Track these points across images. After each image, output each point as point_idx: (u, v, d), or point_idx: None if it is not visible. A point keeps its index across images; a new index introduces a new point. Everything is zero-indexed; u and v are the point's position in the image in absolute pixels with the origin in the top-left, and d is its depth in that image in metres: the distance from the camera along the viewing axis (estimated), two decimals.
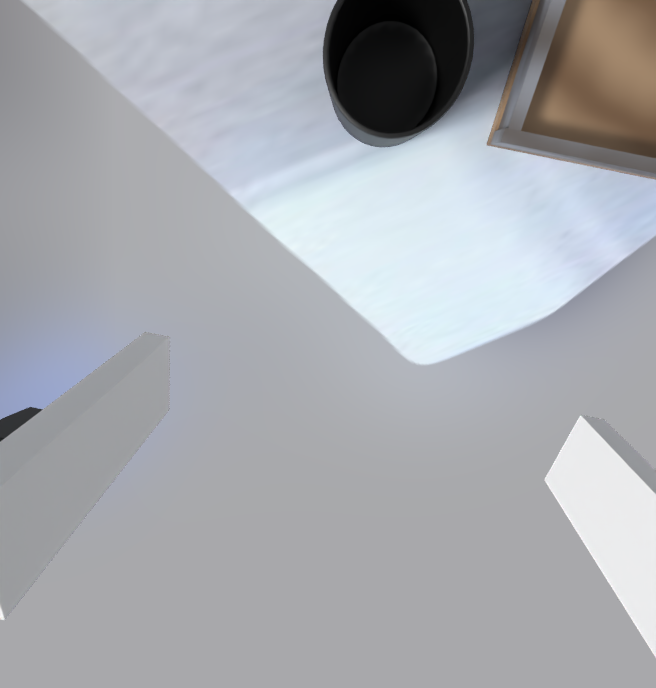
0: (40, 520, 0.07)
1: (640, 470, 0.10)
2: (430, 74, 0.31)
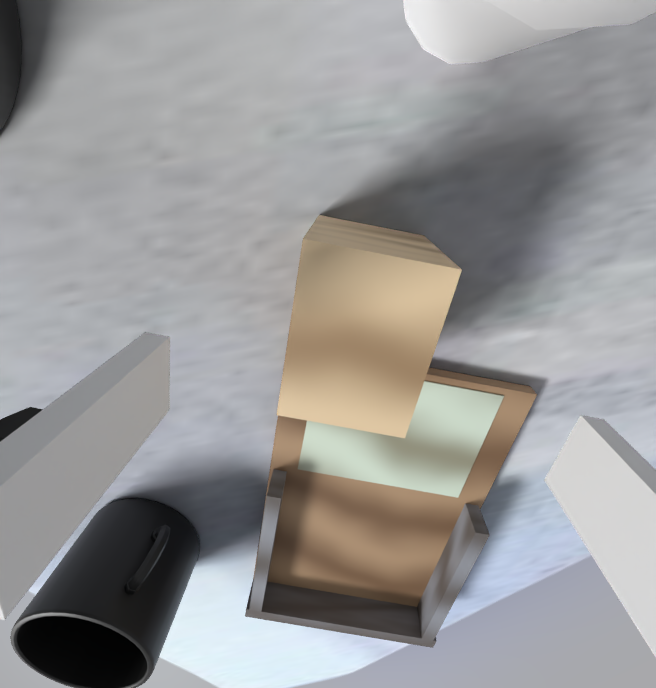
0: (40, 520, 0.07)
1: (640, 470, 0.10)
2: None
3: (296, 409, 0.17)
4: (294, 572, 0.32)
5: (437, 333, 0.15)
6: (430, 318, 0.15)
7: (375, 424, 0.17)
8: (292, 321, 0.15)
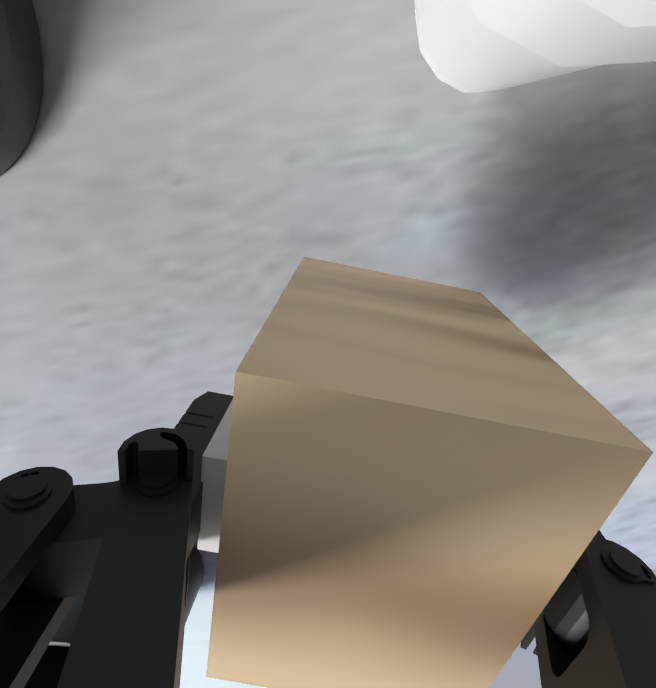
0: None
1: None
2: None
3: (245, 671, 0.08)
4: None
5: (562, 571, 0.06)
6: (550, 544, 0.06)
7: None
8: (224, 536, 0.07)
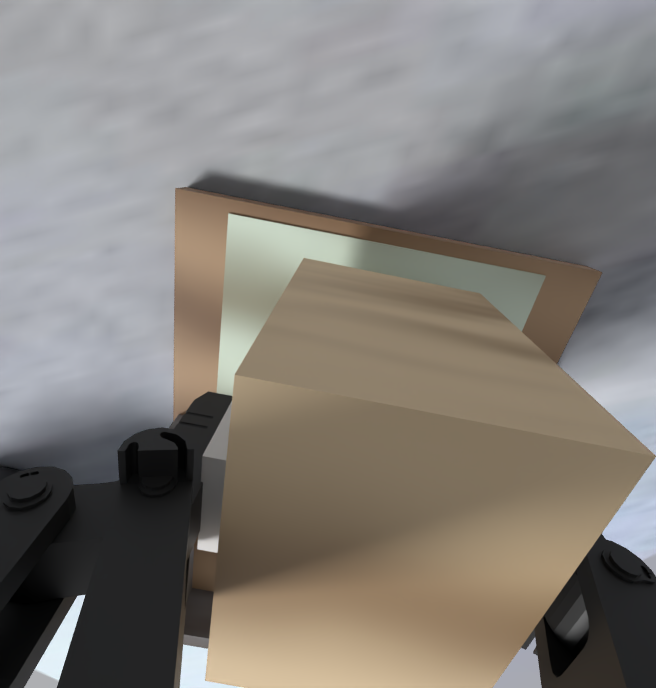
0: None
1: None
2: None
3: (245, 675, 0.08)
4: None
5: (564, 575, 0.06)
6: (552, 548, 0.06)
7: None
8: (222, 540, 0.07)
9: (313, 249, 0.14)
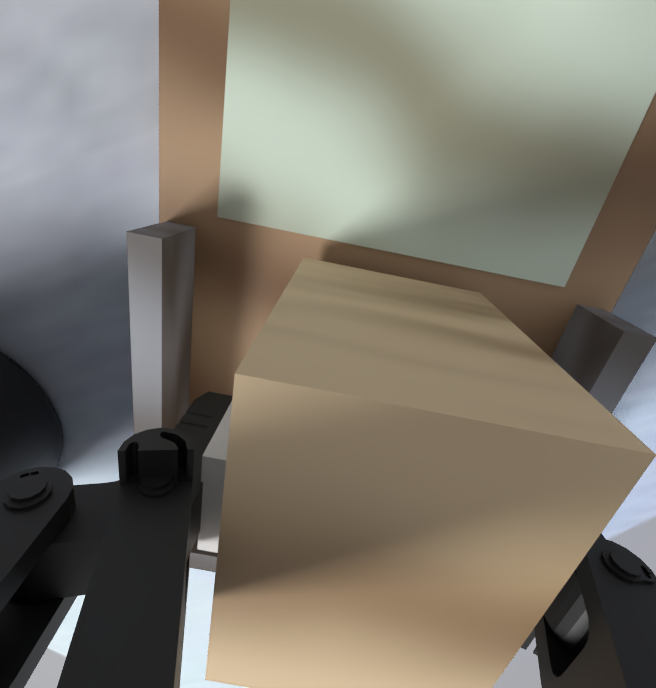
0: None
1: None
2: None
3: (245, 675, 0.08)
4: None
5: (564, 574, 0.06)
6: (552, 547, 0.06)
7: None
8: (223, 539, 0.07)
9: None
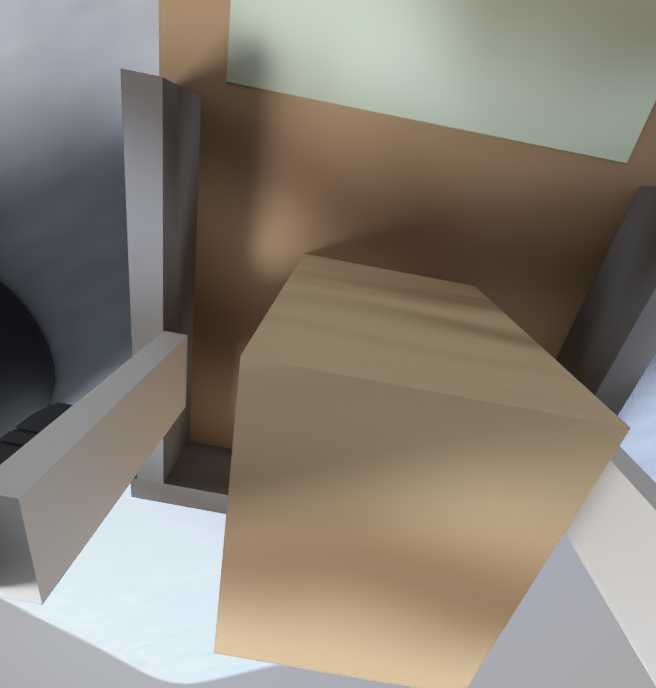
0: (74, 510, 0.07)
1: (615, 458, 0.10)
2: None
3: (251, 648, 0.09)
4: None
5: (550, 544, 0.07)
6: (538, 518, 0.07)
7: (405, 675, 0.09)
8: (230, 513, 0.07)
9: None
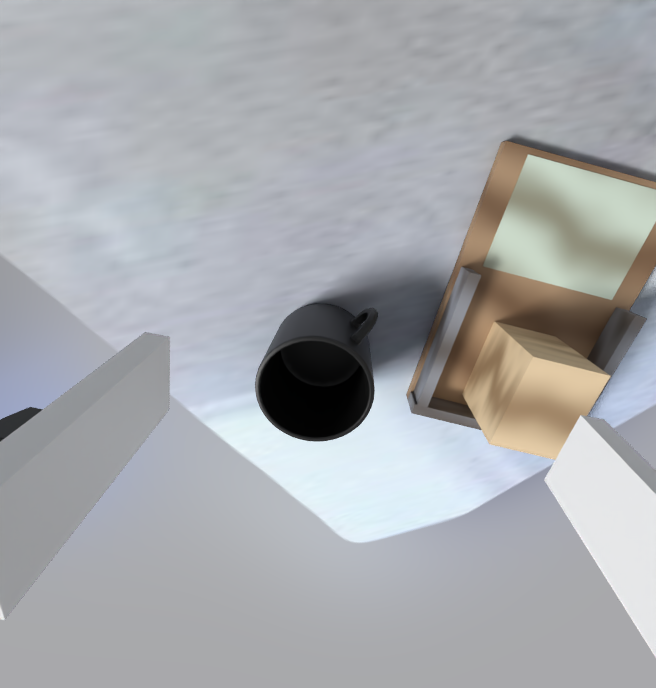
0: (40, 520, 0.07)
1: (640, 470, 0.10)
2: None
3: (502, 441, 0.30)
4: (449, 383, 0.37)
5: (591, 405, 0.29)
6: (589, 398, 0.28)
7: (544, 452, 0.30)
8: (515, 395, 0.29)
9: (563, 174, 0.30)
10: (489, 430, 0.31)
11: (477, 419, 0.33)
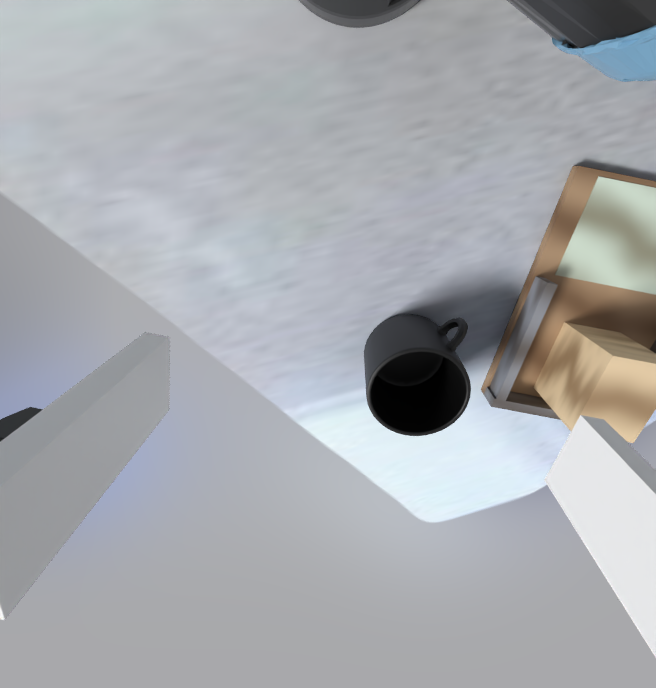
0: (40, 520, 0.07)
1: (640, 470, 0.10)
2: None
3: None
4: (522, 378, 0.42)
5: None
6: None
7: None
8: (595, 389, 0.33)
9: (630, 191, 0.34)
10: (569, 419, 0.36)
11: (554, 410, 0.38)
